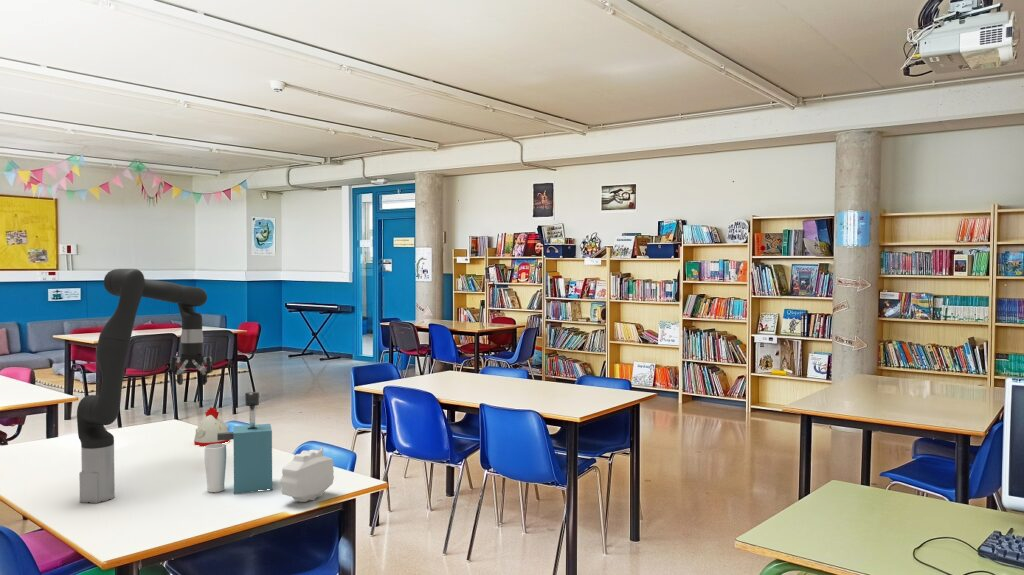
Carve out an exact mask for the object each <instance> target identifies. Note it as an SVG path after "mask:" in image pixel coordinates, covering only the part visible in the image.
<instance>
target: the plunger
mask: <svg viewBox="0 0 1024 575" xmlns="http://www.w3.org/2000/svg"><path fill="white" fill-rule="evenodd" d="M244 394H245V395H244V397H245V398H244V400H245V401H244V403H245V404H244V406H245V407H248V408H249V425H250V429H255V425H256V406H259V405H260V392H258V391H249V392H245V393H244Z"/></svg>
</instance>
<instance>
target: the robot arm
mask: <svg viewBox="0 0 1024 575" xmlns="http://www.w3.org/2000/svg"><path fill="white" fill-rule="evenodd" d="M103 286H104V289H105V290H106V291H107V293H108V294H110V295H111V296H115V297H119V299H118V304H117V307H116V309H115V311H114V313H113V314H112V316H111V317H110V318H109V319H108V321H107V322H106V323H105V325H104V326H103V328H102V329H101V331H100V333H99V336H98V341H97V346H96V352H95V355H96V360H97V363H98V368H99V372H100V374H101V385H100V391H99V392H100V393H99V395H98V394H88V395H86V396H83V397H82V398H81V399H80V401H79V403H78V405H77V410H76V421H77V436H78V438H79V441H80V444H81V446H80V447H81V449H80V450H81V457H80V458H81V471H80V472H79V503H88V502H90V504H91V503H92V504H98V503H101V501H102V502H105V501H109V499H110V500H112V499H114V498H116V497H115V496H116V492H115V491H116V489H115V486H116V485H115V481H116V480H115V436H114V435H113V434H112V433H111V432H110V431H108V430H107V429H106V427H105V426H109V425H112V424H113V423H114V422H115V421H116V420H117V418H118V416H119V413H120V408H121V402H122V389H123V382H124V381H123V380H124V375H125V368H126V364H127V358H128V355H129V349H130V346H131V339H132V334H133V330H134V324H135V321H136V316H137V313H138V309H139V306H140V303H141V299H142V298H148V299H152V300H156V301H161V302H165V303H166V302H168V303H173V304H177V306H178V309H179V313H180V316H181V334H180V354H181V356H180V357H179V356H172V358H171V359H172V360H171V371H170V372H171V373H172V374H176V383H177V384H178V386H182V385H183V384H184V383H183V382H184V381H183V380H184V379H183V377H184V374H183V373H184V372H185V370H186V369H187V370H188V369H194V370H195V369H197V370H198V371H200V373H201V385H202V386H205V385H206V384H207V383H208V375H209V374H210V373H213V371H214V369H213V357H212V356H206V357H205V356H204V333H203V332H204V331H203V316H202V314H201V313H198V312H196V311H195V309H194V307H195V308H196V307H197V308H198V307H199V308H200V307H202V306H204V305H205V304H206V303H207V301H208V294H207V292H206V291H205V289H203V288H201V287H198V286H189V285H181V284H177V283H175V282H170V281H166V280H164V281H163V280H155V279H148V278H145V276H144V273H143V272H142V271H141V270H139V269H137V268H116V269H115V268H114V269H111V270H110V271H109V272H107V273H106V274H105V275H104V279H103ZM180 362H181V366H180V367H178V366H179V363H180ZM203 362H204V363H206V367H205V365H204V364H203ZM178 368H179V369H178Z"/></svg>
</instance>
